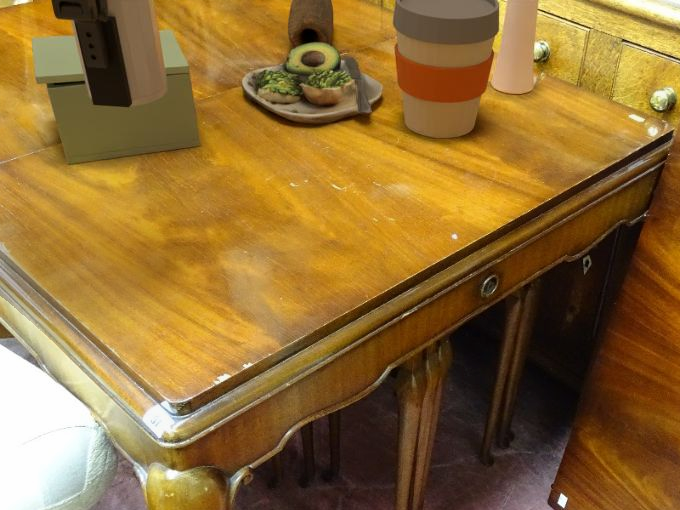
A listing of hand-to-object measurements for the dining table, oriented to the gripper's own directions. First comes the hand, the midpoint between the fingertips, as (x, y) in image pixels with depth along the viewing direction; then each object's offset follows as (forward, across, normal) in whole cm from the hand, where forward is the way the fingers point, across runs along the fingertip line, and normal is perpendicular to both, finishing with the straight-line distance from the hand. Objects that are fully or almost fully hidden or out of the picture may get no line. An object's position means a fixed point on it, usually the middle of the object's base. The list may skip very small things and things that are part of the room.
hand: (127, 85), depth 61 cm
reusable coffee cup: (+18, +34, -25) cm, 46 cm away
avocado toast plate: (+18, +40, -8) cm, 44 cm away
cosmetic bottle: (+18, +47, -35) cm, 61 cm away
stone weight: (+18, +59, -5) cm, 62 cm away
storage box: (+18, +26, +12) cm, 33 cm away
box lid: (+9, +26, +12) cm, 30 cm away
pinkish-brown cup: (0, 0, 0) cm, 0 cm away
